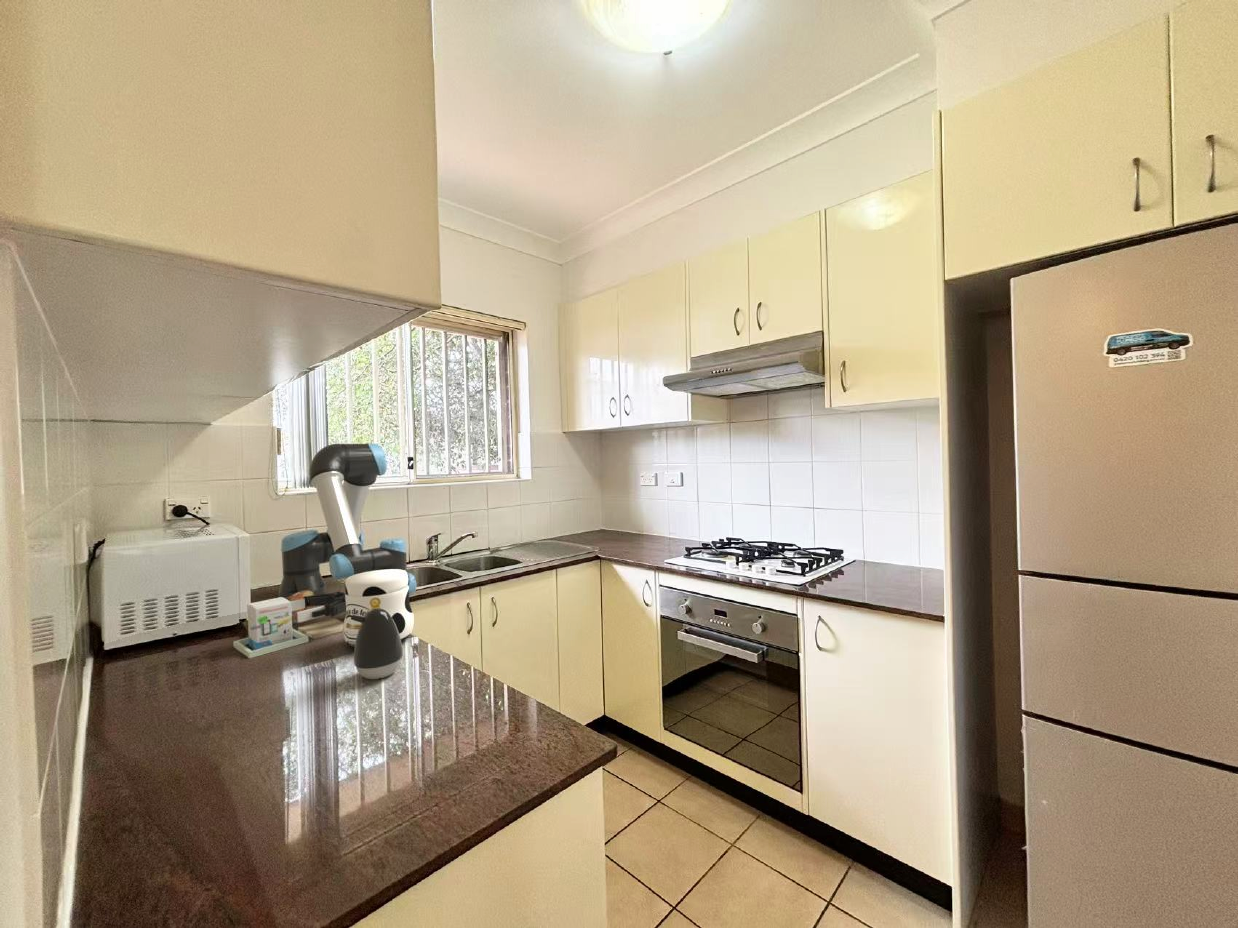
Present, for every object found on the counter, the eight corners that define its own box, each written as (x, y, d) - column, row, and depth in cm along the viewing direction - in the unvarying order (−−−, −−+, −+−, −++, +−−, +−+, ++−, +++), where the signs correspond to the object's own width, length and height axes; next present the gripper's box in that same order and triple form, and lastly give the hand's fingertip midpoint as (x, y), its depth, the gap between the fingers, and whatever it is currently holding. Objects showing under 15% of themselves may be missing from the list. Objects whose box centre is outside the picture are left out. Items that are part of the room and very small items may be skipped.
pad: (297, 630, 150) (297, 627, 150) (334, 621, 158) (333, 618, 158) (314, 639, 142) (313, 635, 142) (351, 628, 150) (351, 625, 150)
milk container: (335, 658, 128) (331, 586, 128) (353, 634, 145) (350, 571, 145) (409, 649, 132) (405, 580, 132) (418, 627, 149) (415, 566, 149)
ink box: (256, 653, 134) (254, 608, 133) (248, 645, 139) (246, 603, 139) (293, 643, 140) (291, 601, 140) (284, 636, 146) (282, 595, 145)
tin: (288, 627, 153) (286, 599, 153) (278, 628, 154) (276, 600, 153) (318, 611, 168) (317, 586, 168) (309, 612, 169) (308, 586, 168)
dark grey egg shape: (357, 669, 120) (354, 605, 120) (405, 662, 124) (402, 600, 123) (349, 688, 111) (346, 618, 110) (401, 679, 114) (398, 612, 114)
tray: (233, 646, 139) (233, 641, 139) (290, 632, 149) (290, 626, 149) (249, 658, 130) (249, 652, 130) (308, 641, 141) (308, 636, 140)
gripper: (385, 613, 151) (306, 635, 135) (348, 600, 167) (273, 618, 150) (384, 588, 151) (305, 607, 134) (346, 577, 167) (271, 593, 150)
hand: (288, 613), depth 142 cm, fingers open, 13 cm apart
